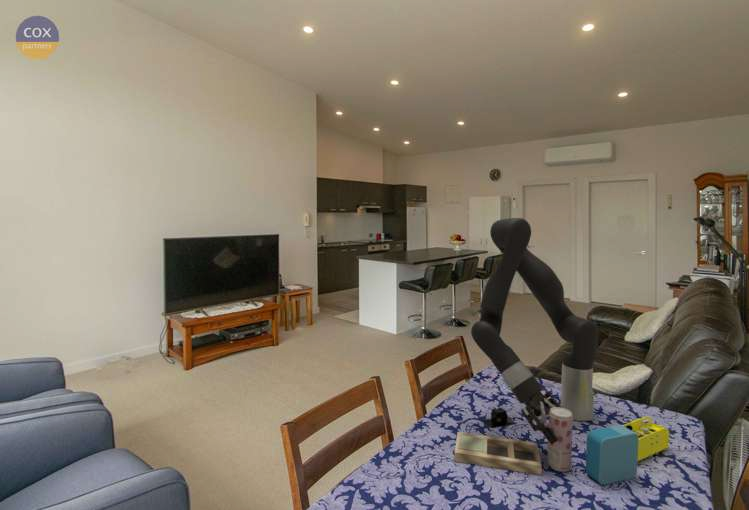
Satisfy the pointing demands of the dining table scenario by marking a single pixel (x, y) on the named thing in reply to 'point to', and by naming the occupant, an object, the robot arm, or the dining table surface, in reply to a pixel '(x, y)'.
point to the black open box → (498, 418)
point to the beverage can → (560, 439)
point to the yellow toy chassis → (649, 437)
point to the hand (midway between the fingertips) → (561, 436)
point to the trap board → (498, 453)
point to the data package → (612, 454)
